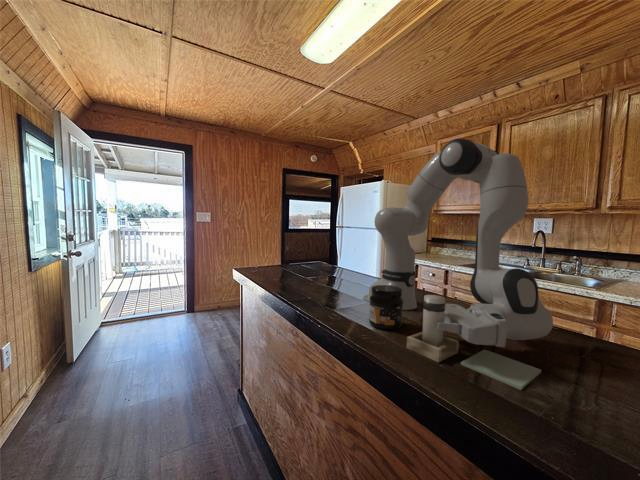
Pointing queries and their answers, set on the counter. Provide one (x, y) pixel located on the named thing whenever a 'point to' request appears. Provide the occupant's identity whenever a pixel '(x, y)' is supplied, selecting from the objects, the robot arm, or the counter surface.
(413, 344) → the square wooden frame
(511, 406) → the counter surface
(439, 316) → the white capsule post
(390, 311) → the supplement container
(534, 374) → the mat
